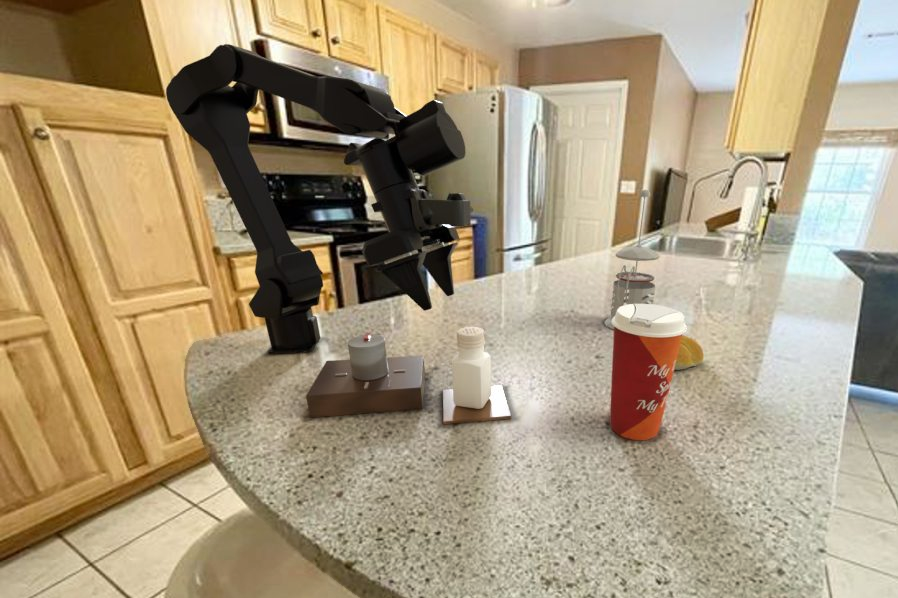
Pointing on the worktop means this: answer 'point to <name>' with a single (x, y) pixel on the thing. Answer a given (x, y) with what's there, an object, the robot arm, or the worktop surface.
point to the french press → (633, 276)
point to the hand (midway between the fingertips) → (440, 302)
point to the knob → (368, 357)
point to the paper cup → (643, 367)
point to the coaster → (490, 411)
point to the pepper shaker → (471, 369)
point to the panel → (367, 389)
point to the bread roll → (688, 354)
